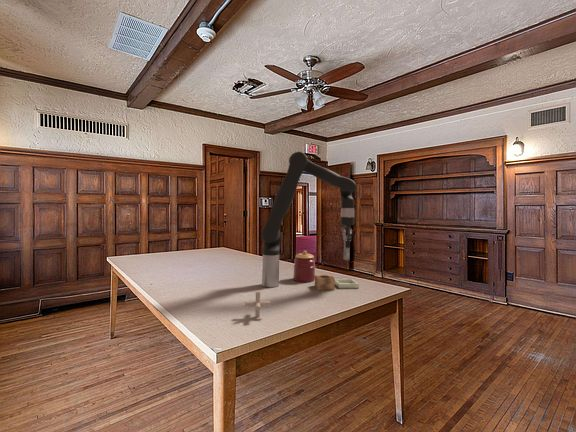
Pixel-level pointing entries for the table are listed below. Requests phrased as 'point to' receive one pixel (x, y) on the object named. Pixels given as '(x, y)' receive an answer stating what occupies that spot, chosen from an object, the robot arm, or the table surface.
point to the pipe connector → (257, 304)
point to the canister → (304, 267)
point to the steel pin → (346, 250)
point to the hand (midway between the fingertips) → (346, 247)
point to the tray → (346, 283)
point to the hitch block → (324, 282)
